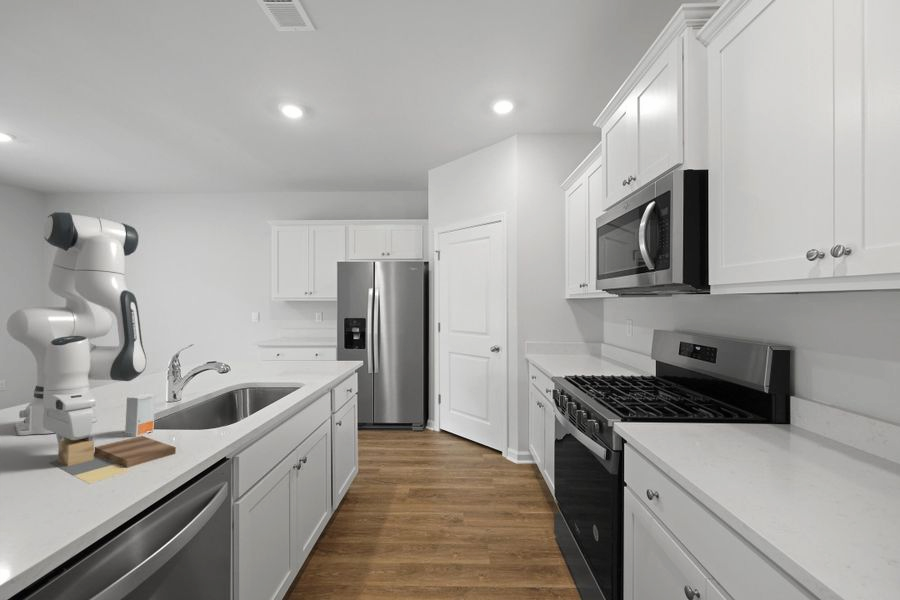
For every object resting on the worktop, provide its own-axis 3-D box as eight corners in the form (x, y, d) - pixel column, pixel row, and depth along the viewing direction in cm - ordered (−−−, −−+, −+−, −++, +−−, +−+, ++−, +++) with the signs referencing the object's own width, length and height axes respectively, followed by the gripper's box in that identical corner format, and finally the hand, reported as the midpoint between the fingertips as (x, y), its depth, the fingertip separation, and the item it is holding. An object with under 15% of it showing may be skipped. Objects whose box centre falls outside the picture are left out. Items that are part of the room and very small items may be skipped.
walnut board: (94, 454, 107) (94, 447, 107) (141, 442, 117) (141, 435, 117) (127, 468, 99) (127, 460, 99) (175, 454, 108) (175, 447, 108)
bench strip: (48, 463, 101) (48, 462, 101) (88, 453, 108) (88, 452, 108) (89, 484, 90) (89, 483, 90) (131, 472, 97) (131, 470, 97)
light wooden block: (58, 461, 102) (59, 437, 102) (83, 455, 106) (84, 432, 106) (68, 466, 99) (68, 441, 99) (93, 459, 103) (94, 436, 103)
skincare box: (136, 437, 121) (137, 398, 121) (124, 436, 122) (125, 397, 122) (154, 431, 127) (155, 394, 127) (143, 430, 128) (144, 393, 128)
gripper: (35, 395, 108) (33, 446, 107) (66, 405, 98) (64, 462, 98) (66, 391, 113) (64, 440, 113) (99, 400, 103) (97, 454, 103)
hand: (65, 450), depth 105 cm, fingers closed
